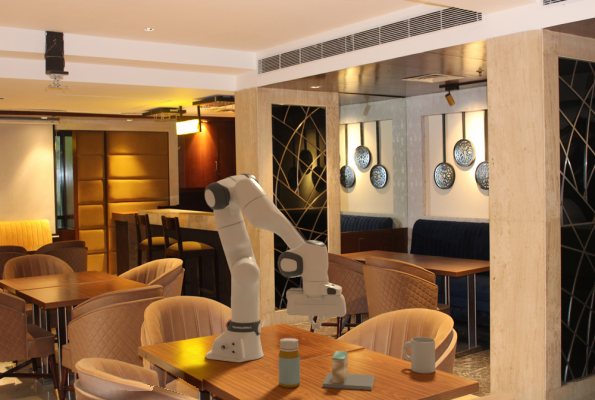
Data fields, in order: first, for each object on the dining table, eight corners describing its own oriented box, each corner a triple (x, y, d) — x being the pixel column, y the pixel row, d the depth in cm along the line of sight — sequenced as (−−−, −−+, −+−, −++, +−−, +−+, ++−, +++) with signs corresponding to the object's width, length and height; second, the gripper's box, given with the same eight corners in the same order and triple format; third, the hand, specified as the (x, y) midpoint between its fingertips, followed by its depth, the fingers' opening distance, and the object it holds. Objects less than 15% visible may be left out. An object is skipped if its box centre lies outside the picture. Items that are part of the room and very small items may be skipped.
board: (322, 387, 189) (322, 383, 189) (328, 376, 201) (328, 372, 201) (371, 390, 186) (371, 386, 186) (374, 378, 198) (374, 375, 198)
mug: (439, 369, 208) (438, 338, 208) (429, 375, 202) (429, 343, 201) (408, 363, 215) (408, 334, 215) (398, 369, 209) (398, 339, 209)
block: (332, 382, 191) (332, 358, 191) (336, 374, 199) (335, 351, 199) (344, 383, 190) (344, 358, 190) (347, 374, 199) (347, 351, 199)
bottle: (278, 382, 195) (278, 337, 195) (298, 381, 196) (298, 337, 196) (279, 388, 188) (279, 343, 188) (300, 388, 189) (300, 342, 189)
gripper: (284, 289, 195) (284, 330, 195) (344, 290, 190) (344, 331, 190) (288, 286, 201) (288, 325, 201) (346, 287, 197) (347, 327, 197)
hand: (316, 328), depth 196 cm, fingers closed
